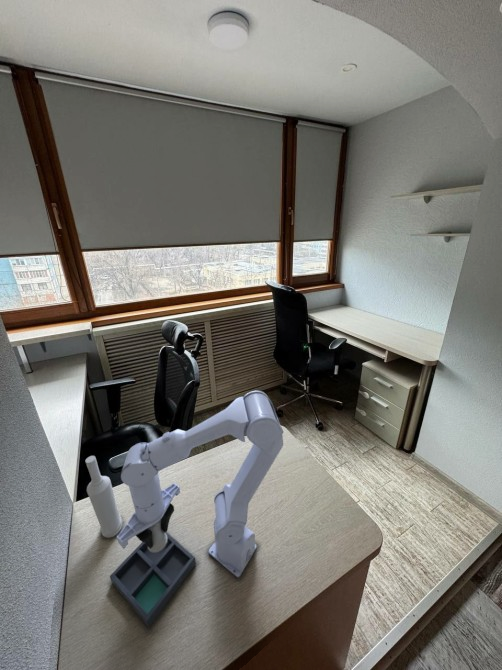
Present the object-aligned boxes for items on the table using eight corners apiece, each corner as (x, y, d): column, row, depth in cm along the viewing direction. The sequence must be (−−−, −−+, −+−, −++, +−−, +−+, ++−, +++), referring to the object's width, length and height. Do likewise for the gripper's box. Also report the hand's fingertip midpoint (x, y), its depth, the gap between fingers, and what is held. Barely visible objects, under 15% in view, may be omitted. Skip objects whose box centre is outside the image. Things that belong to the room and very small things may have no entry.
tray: (196, 563, 65) (195, 557, 64) (148, 628, 54) (146, 621, 53) (159, 531, 71) (158, 524, 70) (111, 582, 61) (109, 576, 60)
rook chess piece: (170, 534, 64) (166, 511, 61) (163, 555, 60) (158, 532, 57) (153, 531, 65) (147, 509, 62) (144, 552, 61) (138, 529, 58)
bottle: (114, 540, 69) (91, 470, 60) (97, 536, 70) (72, 466, 61) (126, 520, 74) (107, 452, 65) (110, 517, 75) (89, 449, 66)
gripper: (163, 463, 64) (170, 502, 69) (103, 513, 53) (116, 555, 58) (183, 477, 60) (189, 517, 65) (123, 534, 49) (136, 577, 54)
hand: (156, 536), depth 61 cm, fingers closed on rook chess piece, 3 cm apart
